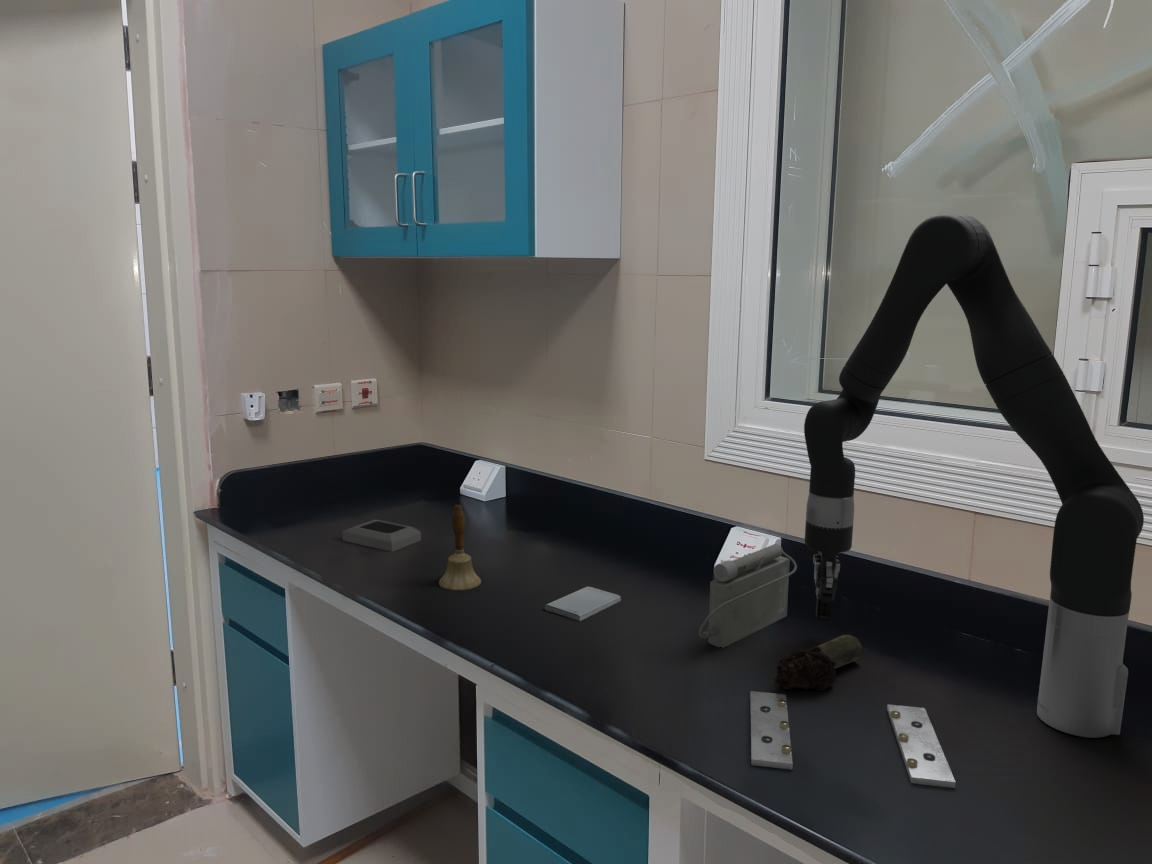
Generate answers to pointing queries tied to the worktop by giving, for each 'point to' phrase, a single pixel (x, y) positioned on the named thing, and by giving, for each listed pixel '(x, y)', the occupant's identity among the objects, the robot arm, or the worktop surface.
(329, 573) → the worktop surface
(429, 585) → the worktop surface
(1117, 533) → the robot arm
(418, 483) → the worktop surface
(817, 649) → the cylinder with dark lump
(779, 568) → the geiger counter
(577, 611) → the hard drive
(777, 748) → the hinge leaves
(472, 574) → the hand bell
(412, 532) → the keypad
